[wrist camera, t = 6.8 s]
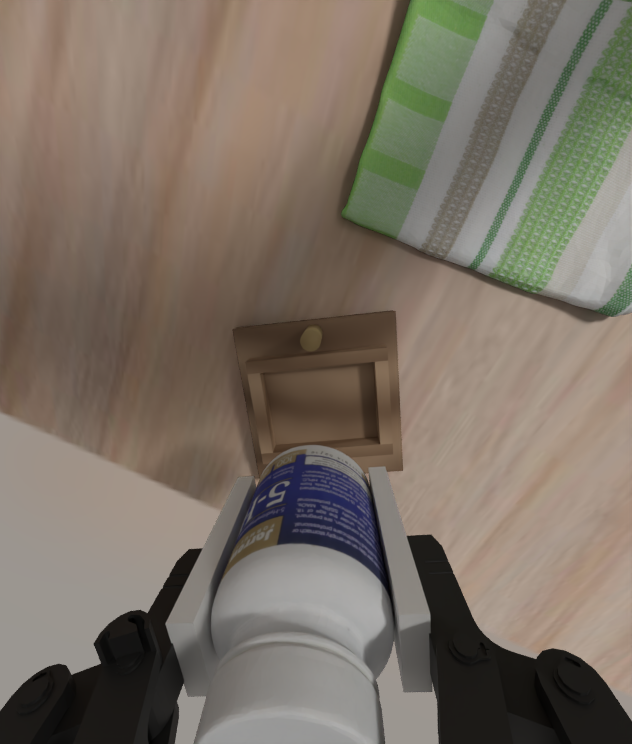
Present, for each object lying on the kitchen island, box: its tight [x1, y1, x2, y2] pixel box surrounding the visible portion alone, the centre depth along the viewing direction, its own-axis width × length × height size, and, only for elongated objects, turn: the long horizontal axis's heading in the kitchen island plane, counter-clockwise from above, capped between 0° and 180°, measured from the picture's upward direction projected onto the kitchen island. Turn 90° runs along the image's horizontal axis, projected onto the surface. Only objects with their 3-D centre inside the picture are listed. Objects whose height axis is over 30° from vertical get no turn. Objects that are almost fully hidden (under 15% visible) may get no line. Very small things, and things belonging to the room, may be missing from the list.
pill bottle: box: [194, 445, 394, 744], centre depth 10 cm, size 5×5×9 cm
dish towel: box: [341, 0, 632, 317], centre depth 21 cm, size 17×23×4 cm
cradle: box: [233, 310, 403, 478], centre depth 25 cm, size 14×13×5 cm
